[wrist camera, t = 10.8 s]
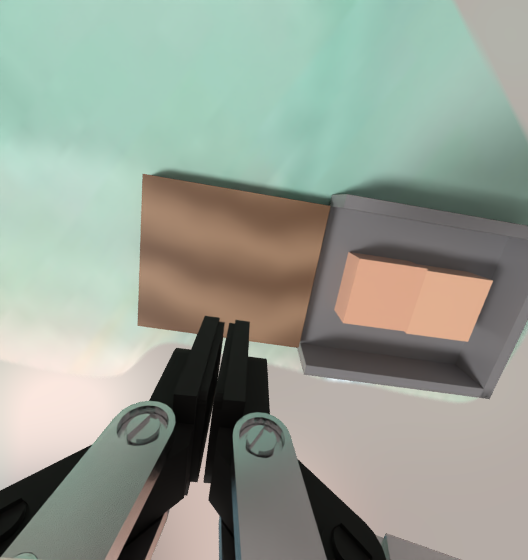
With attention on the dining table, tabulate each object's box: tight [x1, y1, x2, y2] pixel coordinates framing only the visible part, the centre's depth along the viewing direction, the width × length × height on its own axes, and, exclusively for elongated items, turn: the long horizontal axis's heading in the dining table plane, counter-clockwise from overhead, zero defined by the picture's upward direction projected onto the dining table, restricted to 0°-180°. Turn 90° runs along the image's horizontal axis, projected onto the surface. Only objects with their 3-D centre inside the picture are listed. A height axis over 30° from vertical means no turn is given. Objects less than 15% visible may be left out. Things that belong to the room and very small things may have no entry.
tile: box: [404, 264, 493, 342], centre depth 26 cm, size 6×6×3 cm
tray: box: [297, 194, 528, 399], centre depth 25 cm, size 16×18×4 cm
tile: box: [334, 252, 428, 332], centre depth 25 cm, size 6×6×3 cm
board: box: [138, 174, 330, 348], centre depth 26 cm, size 14×16×2 cm
